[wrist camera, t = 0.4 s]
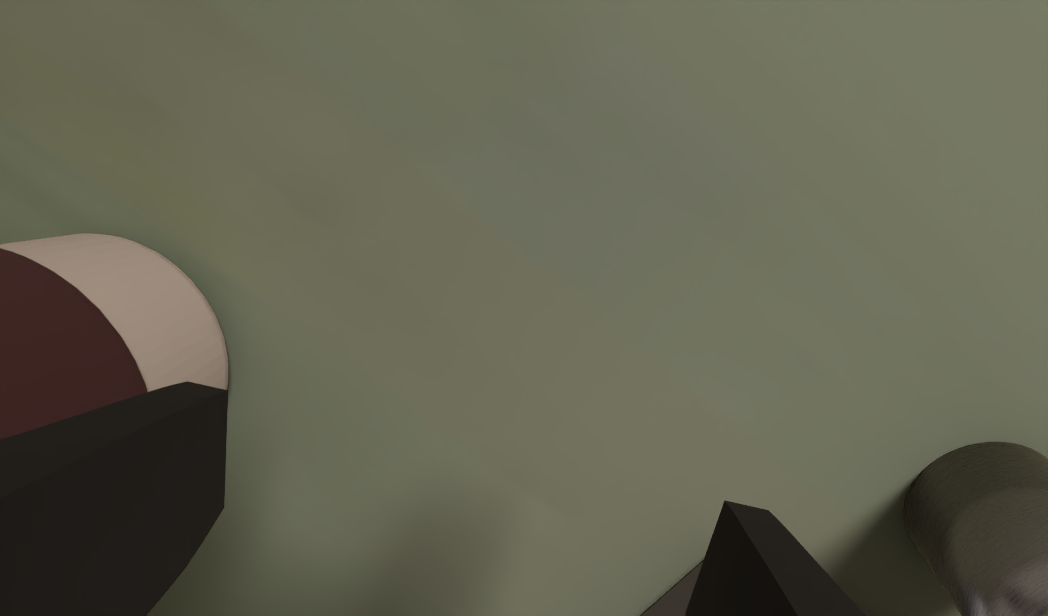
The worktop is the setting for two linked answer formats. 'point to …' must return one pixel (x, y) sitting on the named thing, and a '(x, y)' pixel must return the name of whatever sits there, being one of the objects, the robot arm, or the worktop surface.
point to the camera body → (676, 597)
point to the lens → (985, 527)
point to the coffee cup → (97, 328)
